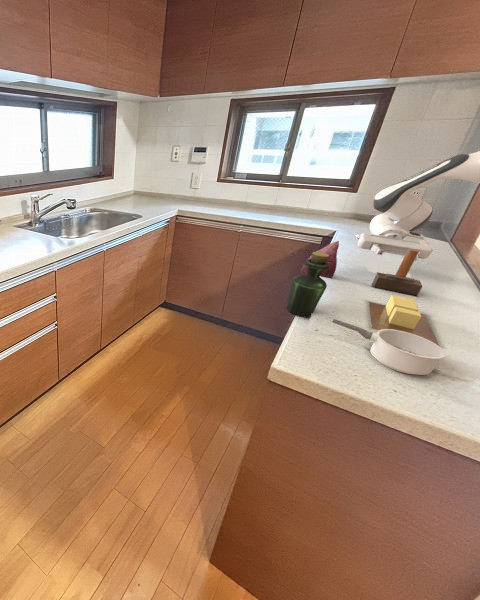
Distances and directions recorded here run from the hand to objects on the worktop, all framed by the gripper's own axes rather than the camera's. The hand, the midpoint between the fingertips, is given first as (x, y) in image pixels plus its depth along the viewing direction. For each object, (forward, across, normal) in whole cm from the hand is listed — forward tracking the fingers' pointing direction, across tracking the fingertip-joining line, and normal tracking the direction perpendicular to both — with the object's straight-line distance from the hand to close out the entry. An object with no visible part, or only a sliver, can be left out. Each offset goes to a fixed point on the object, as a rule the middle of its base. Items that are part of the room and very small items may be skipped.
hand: (397, 255), depth 112 cm
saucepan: (+58, -15, -1) cm, 60 cm away
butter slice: (+40, -5, +1) cm, 40 cm away
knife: (+10, +1, +9) cm, 13 cm away
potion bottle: (+43, -29, +3) cm, 52 cm away
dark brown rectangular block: (+10, +1, +9) cm, 13 cm away
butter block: (+33, -4, +3) cm, 33 cm away
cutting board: (+38, -5, +3) cm, 38 cm away
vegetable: (+5, -20, +11) cm, 24 cm away
